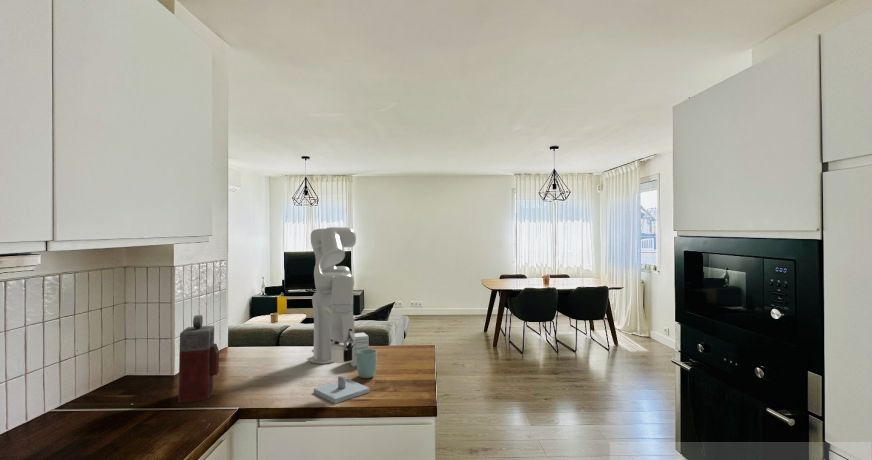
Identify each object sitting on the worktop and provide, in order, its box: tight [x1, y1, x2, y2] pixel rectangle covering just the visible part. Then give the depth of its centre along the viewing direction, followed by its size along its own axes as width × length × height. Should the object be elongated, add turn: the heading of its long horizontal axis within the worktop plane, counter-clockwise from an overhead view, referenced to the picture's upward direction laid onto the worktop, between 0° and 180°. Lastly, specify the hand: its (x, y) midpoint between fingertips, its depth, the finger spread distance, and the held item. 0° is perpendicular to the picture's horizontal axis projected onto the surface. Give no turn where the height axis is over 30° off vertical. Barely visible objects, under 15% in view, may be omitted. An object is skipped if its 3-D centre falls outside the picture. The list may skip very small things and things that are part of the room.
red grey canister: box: [177, 314, 220, 404], centre depth 138 cm, size 9×11×28 cm
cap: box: [332, 342, 350, 364], centre depth 141 cm, size 6×6×6 cm
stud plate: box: [313, 375, 370, 404], centre depth 141 cm, size 14×14×6 cm
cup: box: [356, 348, 378, 379], centre depth 157 cm, size 8×8×10 cm
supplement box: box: [349, 332, 370, 367], centre depth 175 cm, size 7×7×13 cm
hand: (342, 358), depth 141 cm, fingers closed on cap, 6 cm apart
